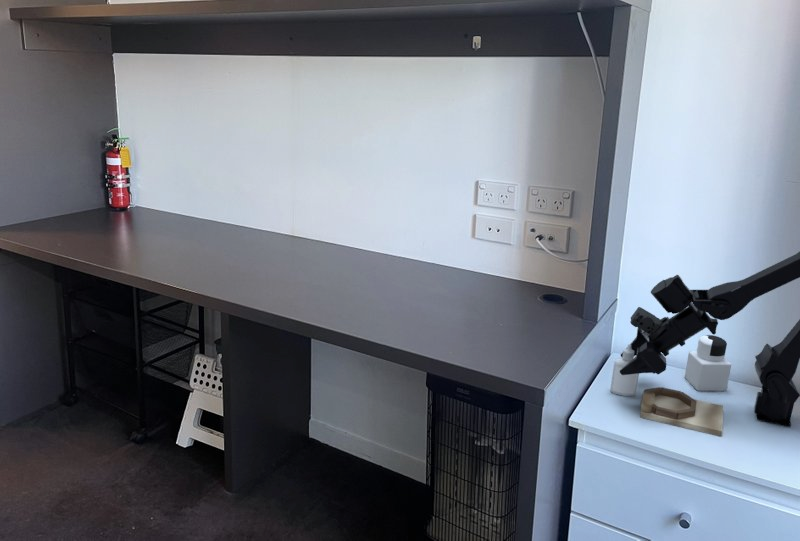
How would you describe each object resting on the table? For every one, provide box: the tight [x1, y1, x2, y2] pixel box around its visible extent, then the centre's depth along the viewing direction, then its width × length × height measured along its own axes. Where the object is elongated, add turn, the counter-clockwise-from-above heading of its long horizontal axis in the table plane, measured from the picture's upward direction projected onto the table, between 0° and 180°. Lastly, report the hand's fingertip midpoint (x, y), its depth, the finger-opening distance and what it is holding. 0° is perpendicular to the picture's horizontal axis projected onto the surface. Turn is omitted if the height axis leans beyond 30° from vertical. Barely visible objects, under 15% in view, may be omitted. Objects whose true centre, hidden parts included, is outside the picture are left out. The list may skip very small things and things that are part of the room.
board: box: [639, 386, 724, 437], centre depth 145 cm, size 16×12×5 cm
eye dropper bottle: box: [610, 344, 640, 397], centre depth 152 cm, size 4×6×12 cm
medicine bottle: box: [684, 334, 732, 392], centre depth 157 cm, size 7×7×12 cm
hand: (621, 364), depth 152 cm, fingers open, 9 cm apart
